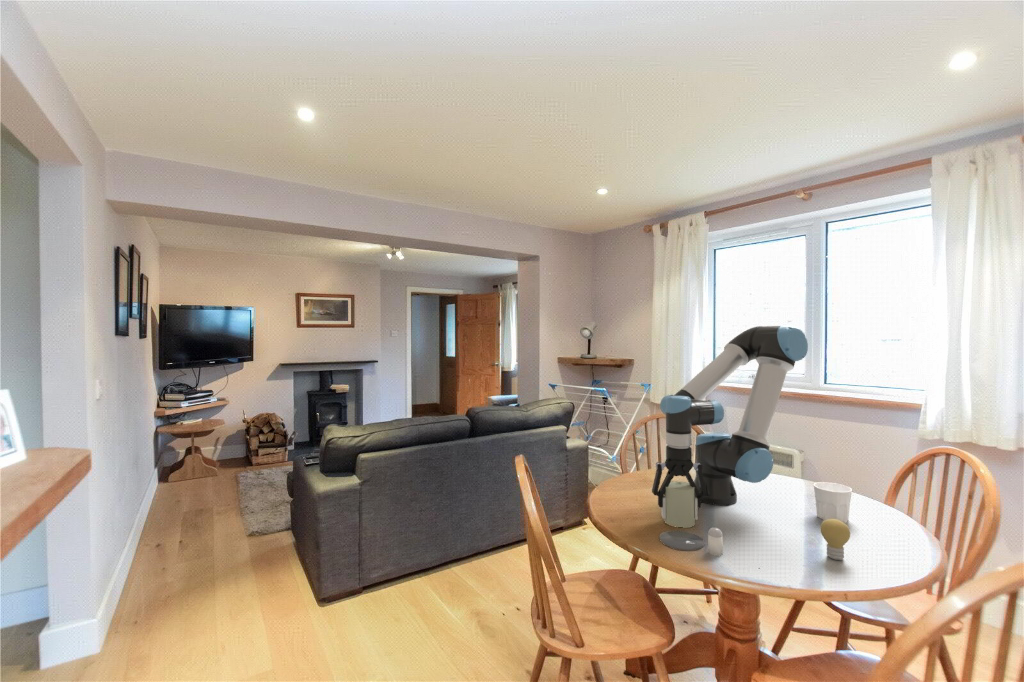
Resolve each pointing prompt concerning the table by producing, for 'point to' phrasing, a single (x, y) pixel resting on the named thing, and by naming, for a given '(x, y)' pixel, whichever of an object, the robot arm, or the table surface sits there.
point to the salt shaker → (715, 542)
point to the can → (680, 504)
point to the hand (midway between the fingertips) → (679, 517)
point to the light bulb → (835, 537)
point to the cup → (832, 501)
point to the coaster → (682, 540)
